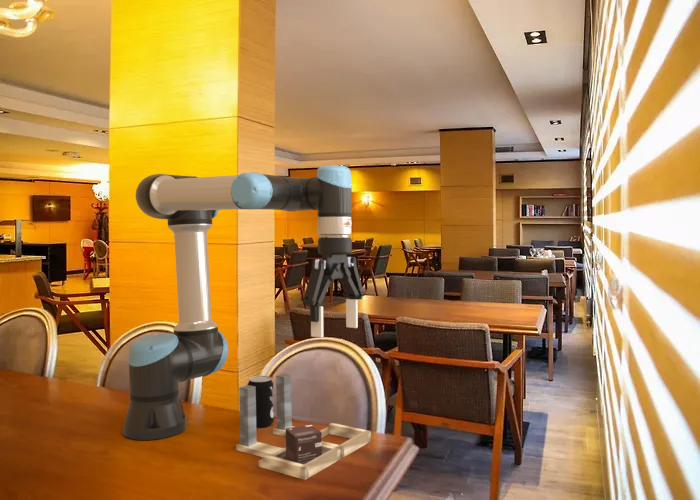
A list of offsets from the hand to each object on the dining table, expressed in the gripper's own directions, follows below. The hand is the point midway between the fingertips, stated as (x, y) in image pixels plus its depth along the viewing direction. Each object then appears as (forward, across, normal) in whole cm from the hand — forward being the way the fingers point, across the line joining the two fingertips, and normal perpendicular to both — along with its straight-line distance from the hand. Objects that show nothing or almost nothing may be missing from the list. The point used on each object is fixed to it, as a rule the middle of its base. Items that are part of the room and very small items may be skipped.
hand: (335, 332), depth 128 cm
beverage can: (+27, +5, +27) cm, 39 cm away
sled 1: (+27, -9, +8) cm, 30 cm away
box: (+27, -9, +2) cm, 29 cm away
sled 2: (+27, +3, +8) cm, 28 cm away
